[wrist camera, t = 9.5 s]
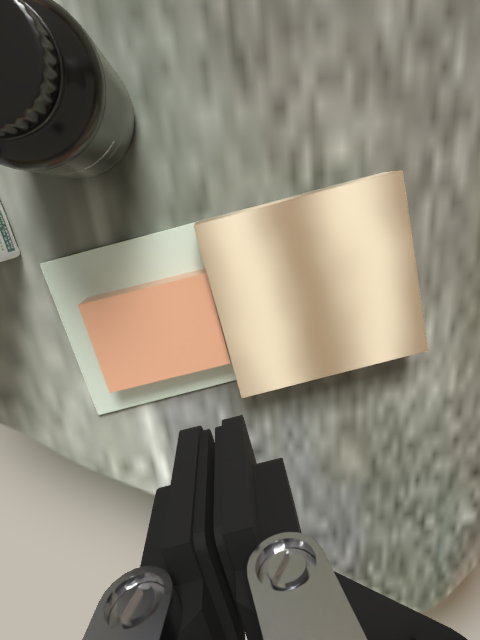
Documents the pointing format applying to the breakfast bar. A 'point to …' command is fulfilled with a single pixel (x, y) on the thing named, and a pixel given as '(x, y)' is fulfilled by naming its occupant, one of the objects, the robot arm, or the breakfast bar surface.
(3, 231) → the syrup box
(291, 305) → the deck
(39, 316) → the breakfast bar surface
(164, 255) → the mat
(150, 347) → the tile
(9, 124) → the supplement bottle
